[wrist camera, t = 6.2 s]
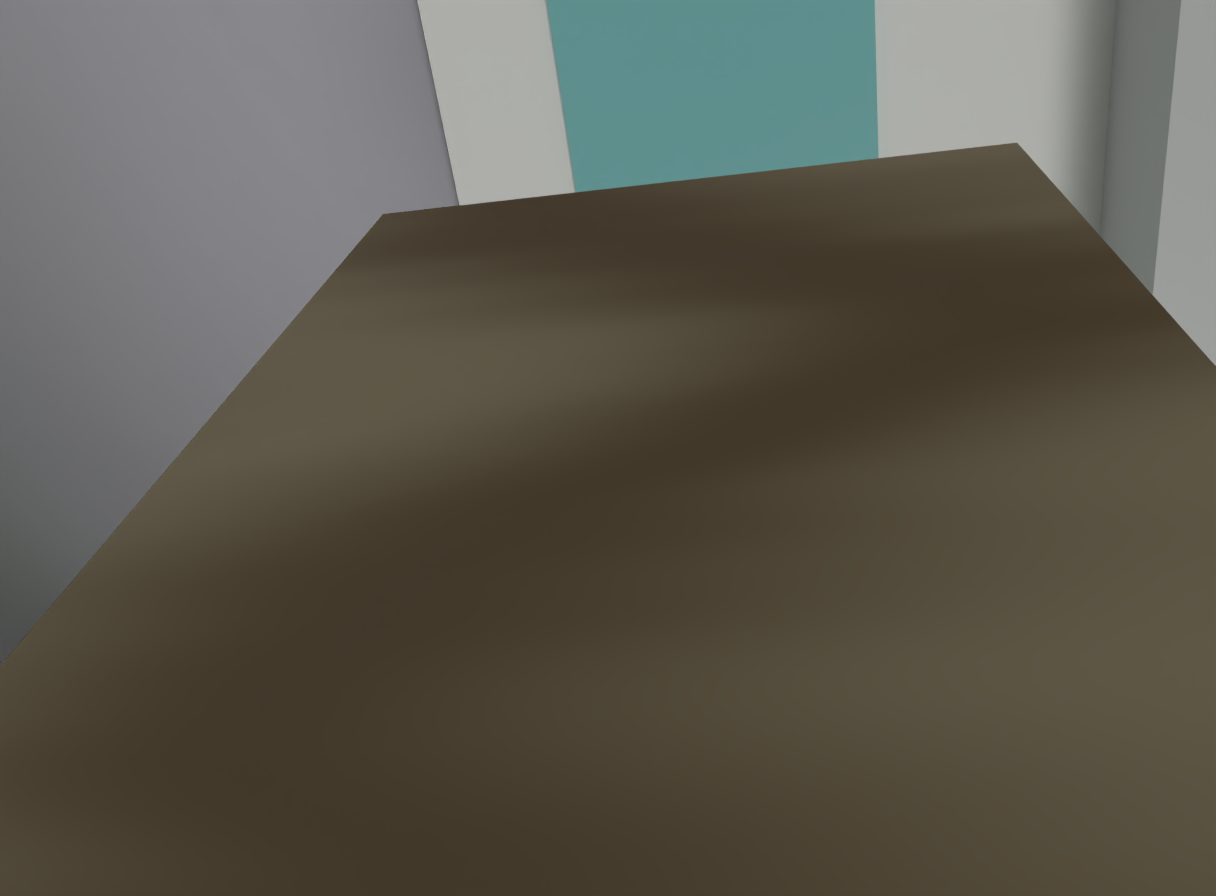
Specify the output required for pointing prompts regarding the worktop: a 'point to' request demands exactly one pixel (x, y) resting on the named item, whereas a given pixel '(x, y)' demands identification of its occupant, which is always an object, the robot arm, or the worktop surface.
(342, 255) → the worktop surface
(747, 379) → the beige and brown box
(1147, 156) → the arena
